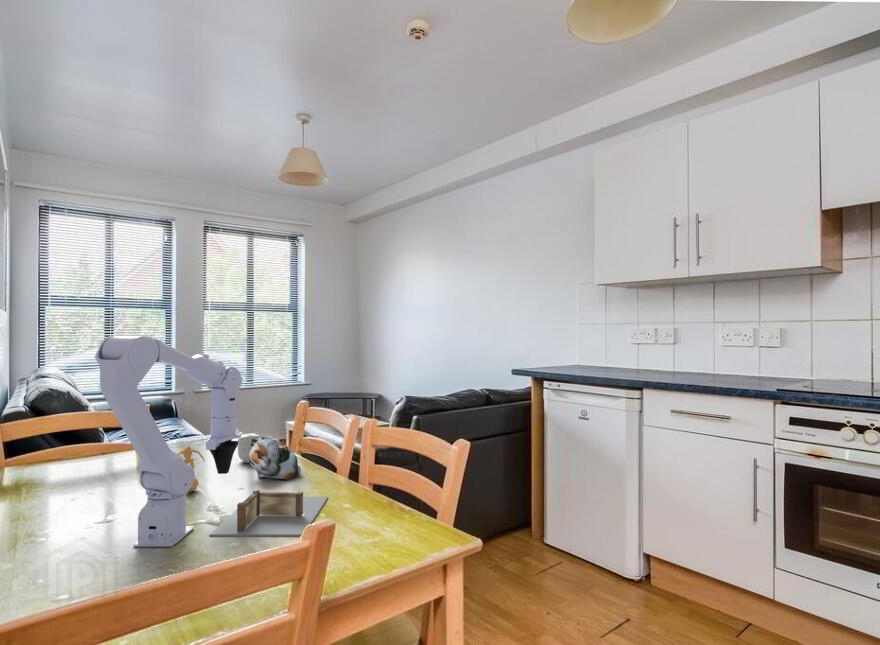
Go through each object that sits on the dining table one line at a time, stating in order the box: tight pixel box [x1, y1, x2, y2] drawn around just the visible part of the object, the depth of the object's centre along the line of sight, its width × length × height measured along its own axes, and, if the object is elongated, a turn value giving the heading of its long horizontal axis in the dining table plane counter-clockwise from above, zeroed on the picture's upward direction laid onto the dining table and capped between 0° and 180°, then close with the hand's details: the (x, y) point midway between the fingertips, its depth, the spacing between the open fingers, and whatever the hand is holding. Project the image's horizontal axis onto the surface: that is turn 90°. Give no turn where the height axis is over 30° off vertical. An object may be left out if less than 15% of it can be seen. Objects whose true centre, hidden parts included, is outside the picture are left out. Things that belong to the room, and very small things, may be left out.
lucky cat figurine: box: [249, 437, 302, 481], centre depth 149 cm, size 15×12×14 cm
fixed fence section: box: [236, 489, 261, 532], centre depth 114 cm, size 10×2×6 cm, turn 0°
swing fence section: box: [260, 491, 304, 517], centre depth 117 cm, size 10×1×5 cm, turn 84°
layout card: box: [208, 496, 329, 537], centre depth 119 cm, size 24×20×1 cm
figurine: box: [177, 445, 206, 493], centre depth 137 cm, size 8×6×12 cm
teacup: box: [237, 434, 281, 464], centre depth 167 cm, size 14×11×8 cm
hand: (223, 472), depth 121 cm, fingers closed
